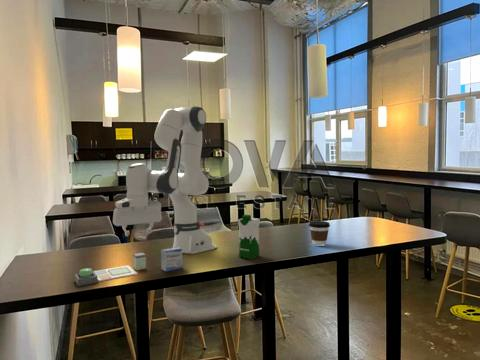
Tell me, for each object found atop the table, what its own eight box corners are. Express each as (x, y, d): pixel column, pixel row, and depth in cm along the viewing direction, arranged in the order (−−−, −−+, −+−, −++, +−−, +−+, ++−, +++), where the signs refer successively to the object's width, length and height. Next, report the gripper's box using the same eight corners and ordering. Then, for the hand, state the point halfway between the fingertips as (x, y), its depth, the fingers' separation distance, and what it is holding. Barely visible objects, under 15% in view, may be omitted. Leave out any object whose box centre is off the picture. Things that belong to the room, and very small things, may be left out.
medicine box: (165, 272, 153) (165, 251, 153) (161, 269, 157) (160, 249, 156) (182, 268, 158) (182, 248, 157) (178, 265, 162) (177, 246, 161)
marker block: (142, 266, 162) (142, 252, 161) (145, 268, 159) (145, 254, 158) (133, 267, 160) (133, 254, 159) (136, 270, 156) (136, 256, 156)
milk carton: (236, 257, 173) (235, 215, 171) (246, 253, 180) (246, 212, 179) (252, 260, 168) (251, 217, 166) (262, 256, 175) (262, 214, 174)
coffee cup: (304, 245, 194) (304, 222, 193) (317, 241, 202) (317, 220, 201) (321, 249, 186) (321, 225, 185) (334, 245, 193) (334, 222, 193)
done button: (90, 275, 146) (90, 267, 146) (93, 278, 142) (92, 270, 142) (78, 277, 143) (78, 269, 143) (80, 280, 140) (80, 272, 140)
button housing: (93, 277, 148) (93, 271, 148) (97, 282, 142) (97, 275, 142) (74, 280, 144) (74, 274, 144) (78, 286, 138) (77, 279, 138)
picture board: (128, 266, 161) (128, 264, 161) (137, 274, 151) (137, 272, 150) (91, 272, 153) (91, 271, 153) (98, 281, 142) (98, 280, 142)
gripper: (158, 199, 165) (159, 230, 166) (111, 202, 154) (112, 235, 155) (163, 200, 160) (164, 232, 161) (115, 204, 149) (116, 238, 150)
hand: (138, 234), depth 158 cm, fingers open, 8 cm apart
